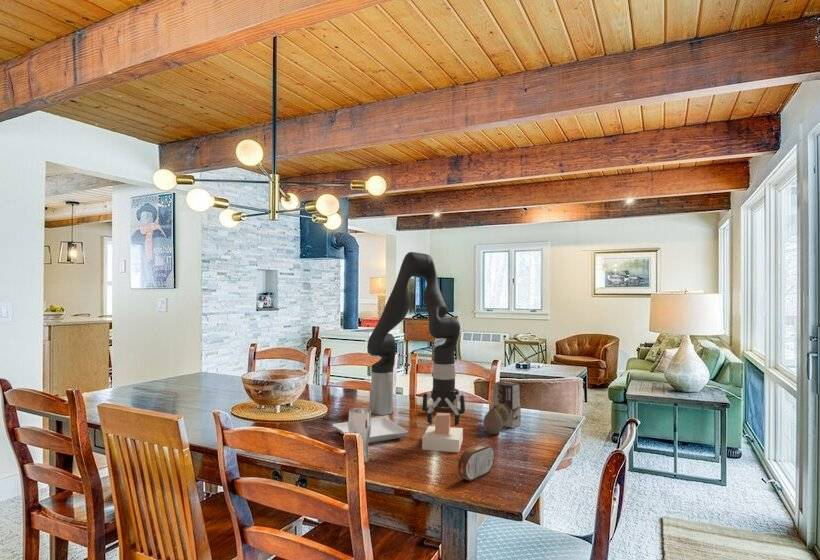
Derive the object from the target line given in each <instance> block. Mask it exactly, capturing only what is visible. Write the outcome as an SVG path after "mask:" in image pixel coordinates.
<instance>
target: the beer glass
mask: <svg viewBox="0 0 820 560" xmlns="http://www.w3.org/2000/svg"><path fill="white" fill-rule="evenodd" d="M371 419H372V413H371V410H370V409H369V408H365V407H354V408H350V409H349V411H348V421H347V422H348V430H349V433H359V434H360V435H361V436H362V439H363V446H364V457H365V462H364V463H368V462H369V461H370V454H369V444H370V443H369V438H370V432H371Z"/></svg>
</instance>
